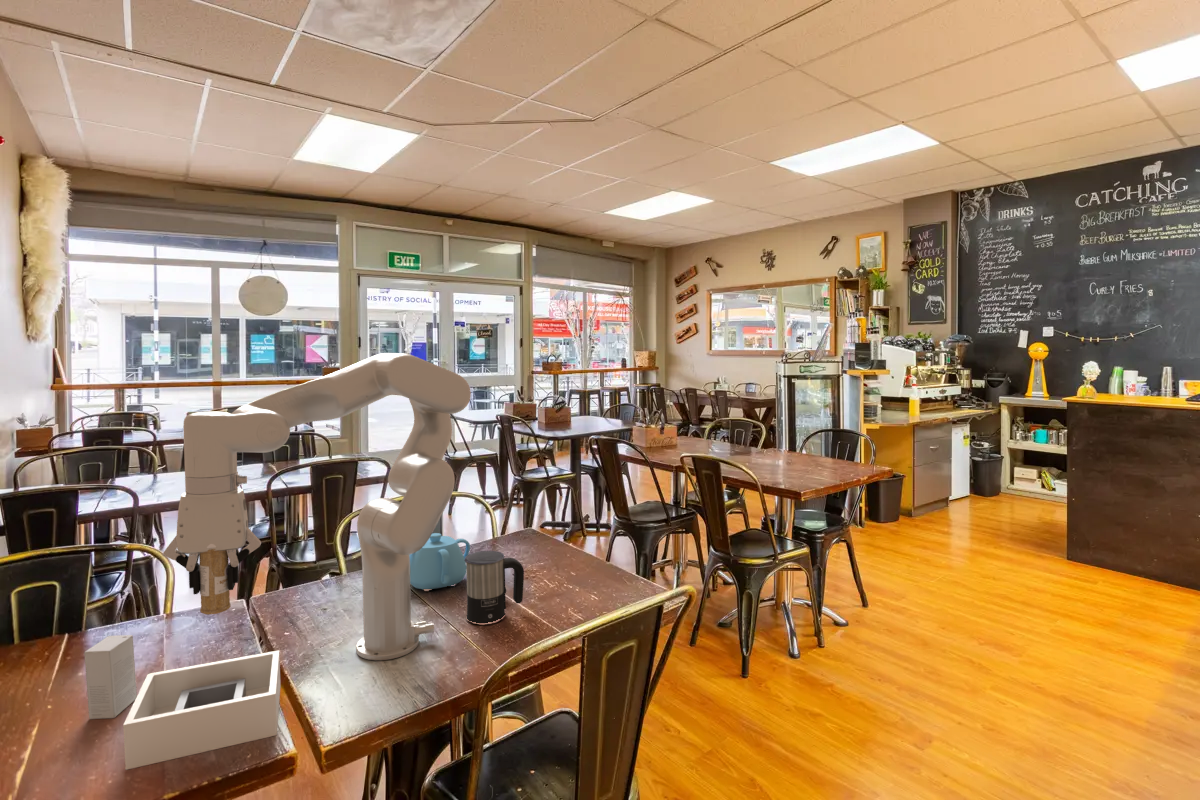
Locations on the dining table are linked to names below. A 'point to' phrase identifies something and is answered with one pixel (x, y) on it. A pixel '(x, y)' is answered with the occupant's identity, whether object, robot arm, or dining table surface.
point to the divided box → (203, 709)
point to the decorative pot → (438, 563)
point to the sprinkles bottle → (214, 581)
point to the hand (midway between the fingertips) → (214, 588)
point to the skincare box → (110, 676)
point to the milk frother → (490, 585)
